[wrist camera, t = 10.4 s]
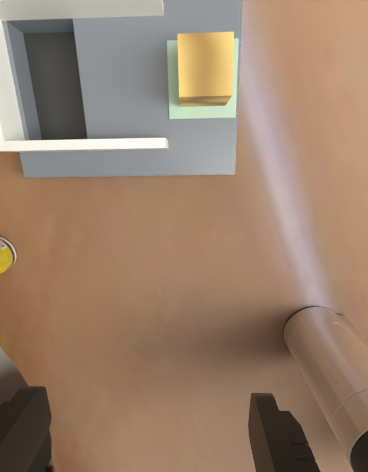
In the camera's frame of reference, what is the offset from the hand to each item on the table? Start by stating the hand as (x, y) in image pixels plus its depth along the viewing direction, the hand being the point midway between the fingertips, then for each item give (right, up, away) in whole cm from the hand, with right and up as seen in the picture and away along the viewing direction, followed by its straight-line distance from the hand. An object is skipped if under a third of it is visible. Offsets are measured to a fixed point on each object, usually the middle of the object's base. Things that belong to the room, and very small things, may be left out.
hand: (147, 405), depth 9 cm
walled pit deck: (-5, +24, +20) cm, 32 cm away
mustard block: (+3, +23, +17) cm, 29 cm away
